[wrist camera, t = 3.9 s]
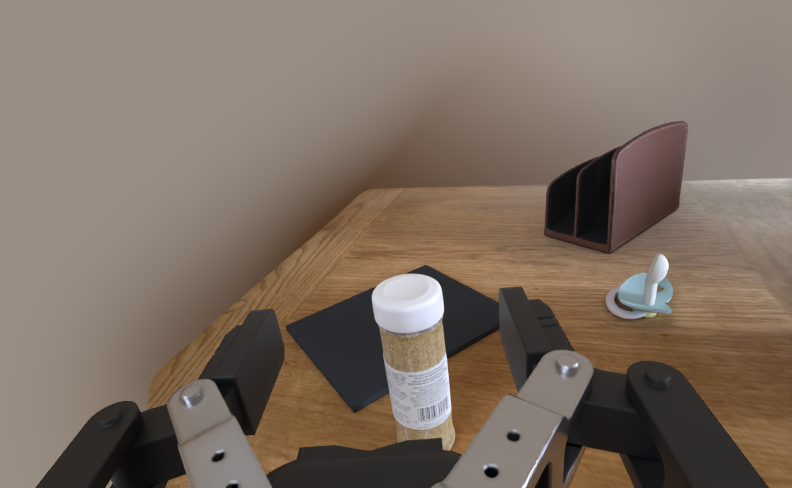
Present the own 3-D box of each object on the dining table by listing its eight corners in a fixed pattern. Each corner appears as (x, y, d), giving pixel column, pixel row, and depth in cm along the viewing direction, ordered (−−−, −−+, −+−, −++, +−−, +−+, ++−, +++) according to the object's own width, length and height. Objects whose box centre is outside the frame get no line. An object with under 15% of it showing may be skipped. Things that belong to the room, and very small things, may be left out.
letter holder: (678, 209, 66) (693, 113, 60) (610, 255, 55) (620, 145, 50) (614, 197, 73) (621, 111, 67) (542, 236, 63) (545, 139, 57)
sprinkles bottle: (446, 410, 35) (432, 265, 30) (463, 457, 31) (450, 299, 26) (391, 422, 35) (367, 278, 29) (401, 471, 31) (375, 313, 25)
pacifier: (600, 321, 44) (670, 332, 41) (602, 266, 41) (677, 274, 38) (609, 286, 49) (672, 294, 46) (612, 236, 47) (678, 240, 44)
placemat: (426, 268, 58) (425, 264, 58) (518, 317, 46) (518, 313, 46) (286, 330, 49) (285, 325, 49) (354, 413, 36) (353, 407, 36)
